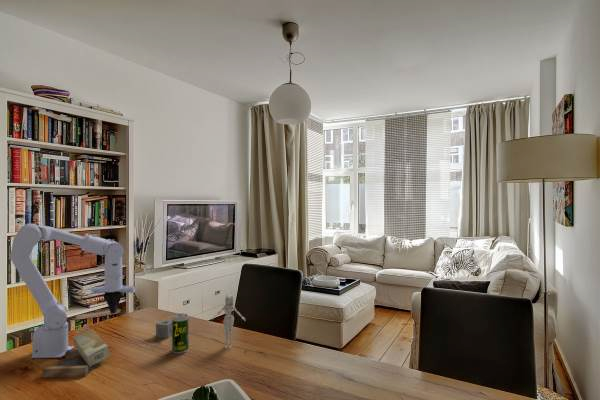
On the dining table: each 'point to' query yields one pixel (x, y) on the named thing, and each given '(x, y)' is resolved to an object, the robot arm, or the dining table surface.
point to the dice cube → (164, 329)
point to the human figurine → (228, 317)
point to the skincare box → (91, 347)
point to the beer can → (180, 333)
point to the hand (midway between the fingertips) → (113, 312)
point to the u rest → (69, 366)
